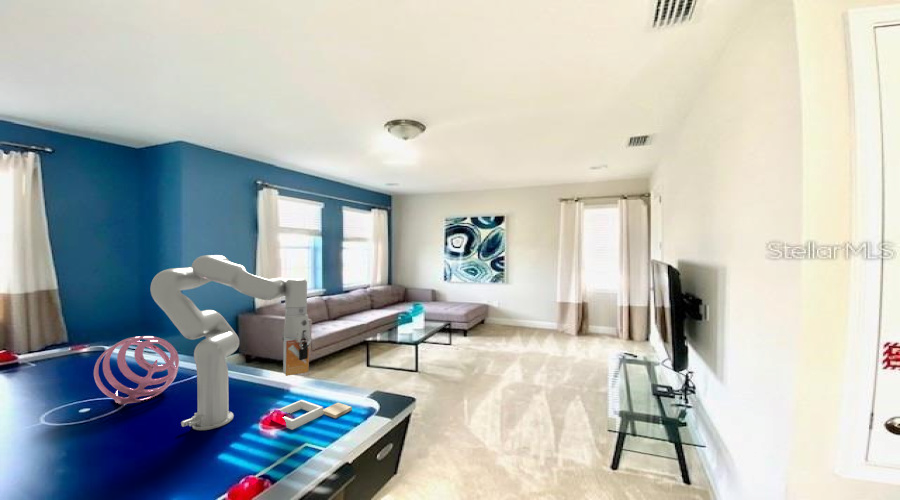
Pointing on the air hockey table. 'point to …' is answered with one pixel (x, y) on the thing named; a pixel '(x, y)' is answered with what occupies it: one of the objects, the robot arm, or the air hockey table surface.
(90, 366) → the air hockey table surface
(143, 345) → the spiral basket
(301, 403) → the tray
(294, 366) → the small box
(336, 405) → the board
